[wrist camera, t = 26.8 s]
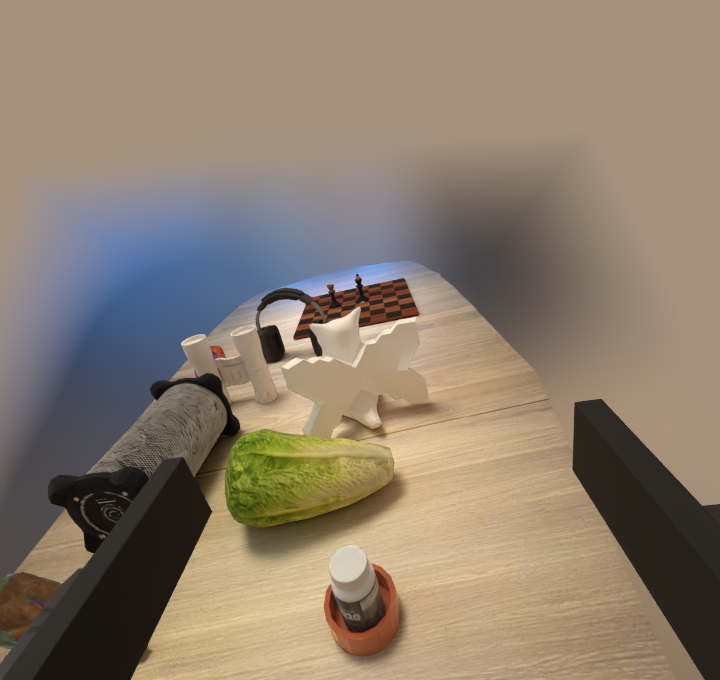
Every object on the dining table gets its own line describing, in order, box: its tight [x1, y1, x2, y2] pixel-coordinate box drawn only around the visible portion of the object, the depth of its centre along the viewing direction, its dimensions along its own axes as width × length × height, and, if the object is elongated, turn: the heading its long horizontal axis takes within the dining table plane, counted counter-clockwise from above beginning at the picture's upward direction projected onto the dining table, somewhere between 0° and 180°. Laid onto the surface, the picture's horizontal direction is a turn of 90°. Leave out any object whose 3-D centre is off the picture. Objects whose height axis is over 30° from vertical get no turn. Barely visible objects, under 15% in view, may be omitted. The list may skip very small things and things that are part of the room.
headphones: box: [256, 288, 329, 362], centre depth 103 cm, size 22×6×20 cm, turn 79°
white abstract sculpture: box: [281, 307, 429, 438], centre depth 73 cm, size 25×21×21 cm
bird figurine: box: [0, 572, 148, 650], centre depth 44 cm, size 13×10×20 cm
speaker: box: [48, 373, 240, 553], centre depth 65 cm, size 15×29×15 cm, turn 176°
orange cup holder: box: [324, 563, 400, 656], centre depth 41 cm, size 8×8×3 cm
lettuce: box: [225, 429, 394, 528], centre depth 55 cm, size 14×24×14 cm
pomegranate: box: [210, 346, 226, 358], centre depth 111 cm, size 7×7×10 cm
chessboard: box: [293, 274, 419, 339], centre depth 133 cm, size 40×40×11 cm
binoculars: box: [181, 325, 278, 405], centre depth 86 cm, size 17×5×18 cm, turn 88°
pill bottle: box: [329, 545, 384, 633], centre depth 39 cm, size 5×5×8 cm
